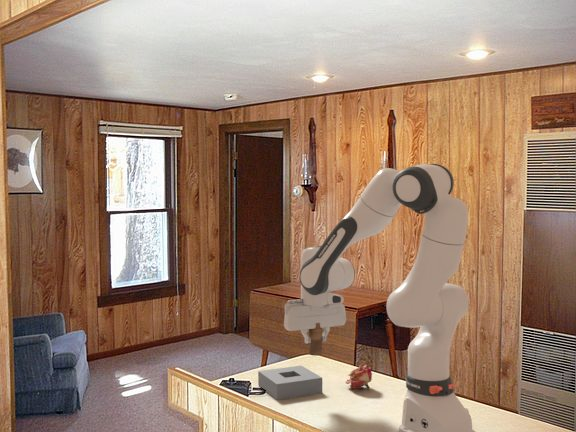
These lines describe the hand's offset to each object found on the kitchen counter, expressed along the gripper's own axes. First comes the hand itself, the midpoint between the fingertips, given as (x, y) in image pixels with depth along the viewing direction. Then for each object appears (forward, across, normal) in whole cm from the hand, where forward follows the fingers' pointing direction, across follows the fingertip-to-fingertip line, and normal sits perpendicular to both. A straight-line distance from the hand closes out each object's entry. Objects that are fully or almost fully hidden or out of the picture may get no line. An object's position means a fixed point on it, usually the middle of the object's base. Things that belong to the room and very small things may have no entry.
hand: (315, 342), depth 184 cm
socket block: (+18, -3, +13) cm, 23 cm away
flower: (+18, +18, +4) cm, 26 cm away
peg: (+4, 0, 0) cm, 4 cm away
